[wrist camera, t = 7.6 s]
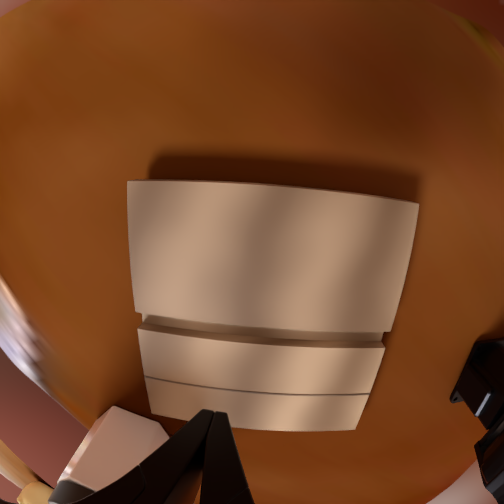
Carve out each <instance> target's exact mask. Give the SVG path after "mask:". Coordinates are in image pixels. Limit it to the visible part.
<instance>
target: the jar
mask: <svg viewBox="0 0 504 504" xmlns="http://www.w3.org/2000/svg"><path fill="white" fill-rule="evenodd" d="M168 439H169V436H168V435H167V433H166V432H165V430H164V429H163V428H162V426H161V425H160V423H159V422H156V421H153V420H150V419H148V418H145V417H142V416H139V415H137V414H134V413H132V412H129V411H127V410H124V409H122V408H119V407H117V406H112V407H111V408H110V409H109V410H107V411H106V412H105V413H104V414H103V415H102V416H101V417H100V418H98V419H97V420H96V422H95V423H94V425H93V426H92V428H91V429H90V431H89V432H88V434H87V436H86V437H85V438H84V440H83V442H82V443H81V445H80V446H79V448H78V449H77V451H76V452H75V454H74V456H73V457H72V459H71V460H70V462H69V464H68V465H67V467H66V468H65V470H64V472H63V473H62V475H61V477H60V478H59V480H58V481H57V485H56V487H55V489H54V490H53V492H52V494H51V495H50V497H49V499H48V504H70V503H73V502H76V501H79V500H81V499H83V498H85V497H87V496H89V495H91V494H93V493H95V492H97V491H98V490H100V489H102V488H104V487H106V486H108V485H109V484H111V483H113V482H114V481H116V480H118V479H119V478H121V477H122V476H124V475H125V474H126V473H128V472H129V471H130V470H132V469H133V468H134V467H135V466H137V465H139V463H141V462H142V461H143V460H144V459H145V458H147V457H148V456H149V455H150V454H151V453H153V452H154V451H155V450H156V449H157V448H159V447H160V446H161V445H162V444H163V443H164V442H166V441H167V440H168Z"/></svg>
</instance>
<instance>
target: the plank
mask: <svg viewBox="0 0 504 504" xmlns="http://www.w3.org/2000/svg"><path fill="white" fill-rule="evenodd" d="M127 208H128V235H129V252H130V265H131V276H132V286H133V296H134V304H135V312H139V313H146V314H152V315H159V316H166V317H173V318H181V319H188V320H196V321H205V322H214V323H223V324H233V325H244V326H255V327H268V328H282V329H299V330H320V331H354V332H390V331H391V328H392V325H393V321H394V318H395V315H396V311H397V308H398V304H399V300H400V297H401V293H402V289H403V285H404V281H405V277H406V273H407V269H408V264H409V259H410V255H411V250H412V245H413V240H414V234H415V229H416V223H417V216H418V210H419V204H418V203H415V202H412V201H408V200H402V199H396V198H389V197H382V196H375V195H368V194H361V193H353V192H345V191H337V190H328V189H319V188H309V187H299V186H288V185H275V184H262V183H247V182H229V181H206V180H166V179H136V180H130V181H127Z"/></svg>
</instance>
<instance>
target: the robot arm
mask: <svg viewBox="0 0 504 504" xmlns="http://www.w3.org/2000/svg"><path fill="white" fill-rule="evenodd" d="M450 401H451V403H456V402H461V401H464V402H465V403H466V404H467V406H468V407H469V409H470V410H471V411H472V413H473V414H474V416H475V417H478V418H479V420H480V421H481V423H482V424H483V426H484V427H485V429H486V430H488V429H489V431H488V432H487V433H486V434H485V435H484V436H483V438H482V439H481V440H480V441H478V442H477V443H476V444H475V445H474V448H475V452H476V456H477V459H478V463H479V468H480V472H481V476H482V480H483V484H484V486H485V488H486V489H487V490H488V491H489V492H490V493H491V494H492V495H493V496H494V498H495V499H496V500H497V502H498V504H504V338H500V339H493V340H485V341H478V342H477V343H475V345H474V346H473V349H472V351H471V353H470V356H469V358H468V361H467V363H466V365H465V367H464V370H463V372H462V374H461V376H460V378H459V380H458V382H457V385H456V387H455V389H454V391H453V393H452V394H451V396H450ZM201 482H202V483H201ZM200 484H201V494H200V504H255V503H254V501H253V498H252V495H251V492H250V489H249V488H248V487H249V486H248V483H247V480H246V477H245V473H244V470H243V467H242V464H241V460H240V457H239V453H238V450H237V446H236V443H235V439H234V436H233V432H232V429H231V425H230V421H229V417H228V414H227V413H226V412H221V411H215V412H214V411H213V410H208V409H202V410H200V411H199V412H198V413H197V414H196V415H195V416H194V417H193V418H192V419H191V420H189V421H188V422H187V423H186V424H185V425H184V426H183V427H182V428H181V429H179V430H178V431H177V432H176V433H175V434H174V435H173V436H171V437H170V438H169V439H168V440H167V441H166V442H164V443H163V444H162V445H161V446H160V447H159V448H157V449H156V450H155V451H154V452H153V453H151V454H150V455H149V456H148V457H147V458H145V459H144V460H143V461H142V462H141V463H139V465H137V466H135V467H134V468H133V469H132V470H130V471H129V472H128V473H126V474H125V475H124V476H122V477H121V478H119V479H118V480H116V481H114V482H113V483H111V484H109V485H108V486H106V487H104V488H102V489H100V490H98V491H97V492H95V493H93V494H91V495H89V496H87V497H85V498H83V499H81V500H79V501H76V502H73V503H70V504H193V503H194V500H195V498H196V495H197V492H198V490H199V487H200ZM0 504H16V503H10V502H7V501H4V500H2V499H0Z"/></svg>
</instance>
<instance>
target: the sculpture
mask: <svg viewBox="0 0 504 504" xmlns="http://www.w3.org/2000/svg"><path fill="white" fill-rule="evenodd" d="M53 490H54V489H52V488H51V487H49V486H47V485H45V484H43V483H41V482H39V481H34V482H31V483H30V484H28V485H27V486H25V487H24V488H23V490H22V492H21V493H20V495H19V497H18V498H17V501H18V502H19V504H48V499H49V497H50V495H51V494H52V492H53Z"/></svg>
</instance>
